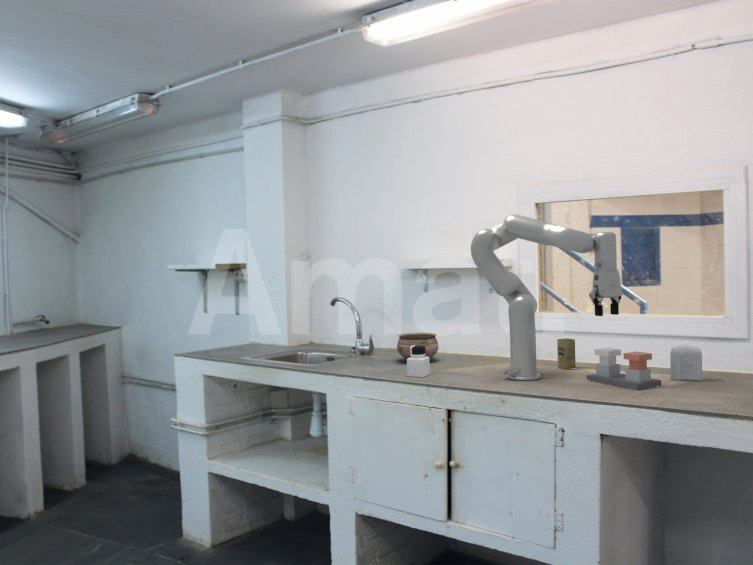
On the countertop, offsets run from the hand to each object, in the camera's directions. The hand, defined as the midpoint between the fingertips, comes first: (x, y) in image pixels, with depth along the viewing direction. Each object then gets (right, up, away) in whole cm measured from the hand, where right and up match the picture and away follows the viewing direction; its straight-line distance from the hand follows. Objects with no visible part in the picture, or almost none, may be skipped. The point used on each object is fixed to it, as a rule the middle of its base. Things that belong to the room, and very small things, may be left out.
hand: (606, 314), depth 226 cm
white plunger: (+1, -19, 0) cm, 19 cm away
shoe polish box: (-6, -24, +28) cm, 37 cm away
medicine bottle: (-67, -26, +23) cm, 75 cm away
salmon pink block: (+7, -19, -11) cm, 23 cm away
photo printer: (+27, -23, -3) cm, 36 cm away
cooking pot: (-64, -25, +59) cm, 91 cm away
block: (+4, -24, -5) cm, 25 cm away
